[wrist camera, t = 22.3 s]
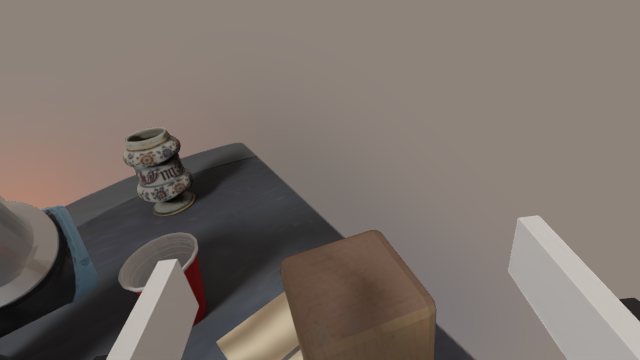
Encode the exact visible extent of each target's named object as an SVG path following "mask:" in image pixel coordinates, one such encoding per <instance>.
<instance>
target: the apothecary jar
mask: <svg viewBox="0 0 640 360" xmlns="http://www.w3.org/2000/svg"><path fill="white" fill-rule="evenodd" d="M125 143H126V145H127V146H126V147H127V148H126V149H125V151H124V153H123V160H124V162H125V163H126V164H127V165H129V166H131V167H134V169H135V171H136V174H137V176H138V179H139V181H140V183H139V185H138V188H137V192H138V195H139V196H140V197H141V198H142V199H144V200H146V201H150V202H156V203H155V205H154V206H153V213H154V214H155V215H158V216H169V215H173V214H176V213H179V212H181V211H183V210H185V209H186V208H188V207H189V206H190V205H192V203H193V202H194V200H195V195H194V194H193V193H192V192H189V191H187V190H188V189H189V188H190V186H191V184H192V182H193V176H192V174H191V172H190V171H189V170H188V169H186V168H184V167H183V165H182V163H181V160H180V158H179V155H178V152H179V150H180V142H179V140H178V139H176V138H175V137H173V136H171V135H170V134H169V133H168V132H167V130H166V129H165V128H162V127H155V128H149V129H144V130H141V131H138V132H135V133H133V134H131V135H129V136H128V137H127V138H126V139H125Z"/></svg>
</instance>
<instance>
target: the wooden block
mask: <svg viewBox="0 0 640 360" xmlns="http://www.w3.org/2000/svg"><path fill="white" fill-rule="evenodd" d="M280 274H281V278H282V282H283V285H284V289H285V293H286V297H287V301H288V304H289V308H290V312H291V316H292V319H293V323H294V327H295V331H296V334H297V338H298V342H299V346H300V349H301V353H302V357H303V360H434V346H435V326H436V307H435V302H434V300H433V298H432V297H431V296H430V294H429V293H428V291H427V290H426V289H425V288H424V286H423V285H422V284H421V283H420V281H419V280H418V279H417V278H416V276H415V275H414V274H413V273H412V271H411V270H410V269H409V267H408V266H407V265H406V264H405V262H404V261H403V260H402V259H401V257H400V256H399V255H398V253H397V252H396V251H395V250H394V248H393V247H392V246H391V245H390V243H389V242H388V241H387V240H386V238H385V237H384V236H383V235H382V233H381V232H379V231H377V230H370V231H367V232H364V233H361V234H358V235H354V236H351V237H348V238H345V239H342V240H339V241H336V242H333V243H330V244H327V245H323V246H320V247H317V248H314V249H311V250H308V251H305V252H302V253H299V254H296V255H293V256H290V257H287V258H286V259H284V260H283V261H282V265H281V269H280Z"/></svg>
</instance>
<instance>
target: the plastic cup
mask: <svg viewBox="0 0 640 360" xmlns="http://www.w3.org/2000/svg"><path fill="white" fill-rule="evenodd" d="M197 252H198V245H197V239H196V238H195V237H194V236H192V235H191V234H188V233H181V232H179V233H173V234H167V235H164V236H162V237H159V238H157V239H154V240H152V241H150V242H149V243H147V244H146V245H144V246H142V247H141V248H139V249H138V250H137V251H136V252H135V253H133V254H132V255H131V256H130V257H129V258H128V259H127V260H126V262H125V263H124V265H123V266H122V268H121V269H120V272H119V279H118V281H119V282H120V284H121V285H122V287H123V288H124V289H126V290H130V291H133V292H134V293H136V294H137V295H138V296H139V297H140V295H141V293H142V291H143V289H144V287H145V286H146V284H147V282H148V280H149V278H150V276H151V274H152V272H153V270H154V269H155V267H156V265H157V263H158V261H163V260H171V259H178V261H179V263H180V265H181V268H182V270H183V272H184V274H185V276H186V278H187V281H188V283H189V285H190V287H191V289H192V292H193V294H194V296H195V298H196V300H197V302H198V305H199V308H198V311H197V314H196V317H195V320H194V323H193V326H194V325H195V324H197V323H198V322H199V321H200V320H201V319H202V318H203V316H204V315H205V312H206V300H205V295H204V294H205V293H204V286H203V282H202V277H201V272H200V267H199V260H198V254H197Z"/></svg>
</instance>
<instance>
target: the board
mask: <svg viewBox="0 0 640 360" xmlns="http://www.w3.org/2000/svg"><path fill="white" fill-rule="evenodd" d="M217 344H218V346H219V348H220V349H221V351H222V352H223V354H224V355H225V356H226V358H227V359H228V360H303V357H302V353H301V349H300V346H299V342H298V338H297V334H296V331H295V327H294V323H293V319H292V316H291V312H290V308H289V304H288V301H287V297H286V293H285V292H283V293H282V294H281V295H279V296H278V297H276V298H275V299H274V300H272V301H271V302H270V303H268V304H267V305H266V306H264V307H263V308H262V309H260V310H259V311H257V312H256V313H255V314H253V315H252V316H251V317H249V318H248V319H247V320H245V321H244V322H243V323H241V324H240V325H238V326H237V327H236V328H234V329H233V330H232V331H230V332H229V333H228V334H226V335H225V336H224V337H222V338H221V339H220V340H218V341H217Z"/></svg>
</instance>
